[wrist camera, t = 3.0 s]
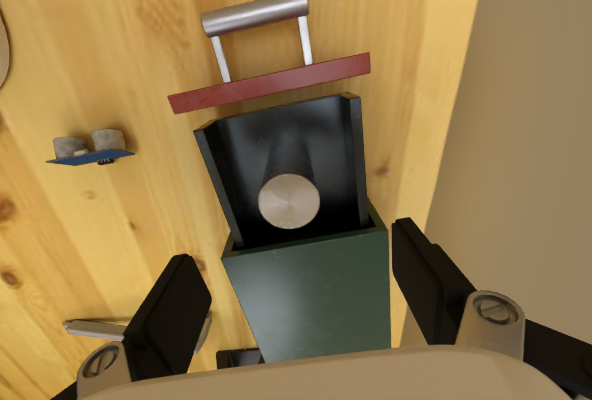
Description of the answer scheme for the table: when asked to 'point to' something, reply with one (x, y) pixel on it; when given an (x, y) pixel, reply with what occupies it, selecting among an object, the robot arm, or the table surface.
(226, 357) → the phone stand
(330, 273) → the cabinet
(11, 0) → the table surface
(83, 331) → the grey bent bar
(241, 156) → the drawer
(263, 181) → the tin
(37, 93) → the table surface
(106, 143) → the ultrasonic sensor
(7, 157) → the table surface
